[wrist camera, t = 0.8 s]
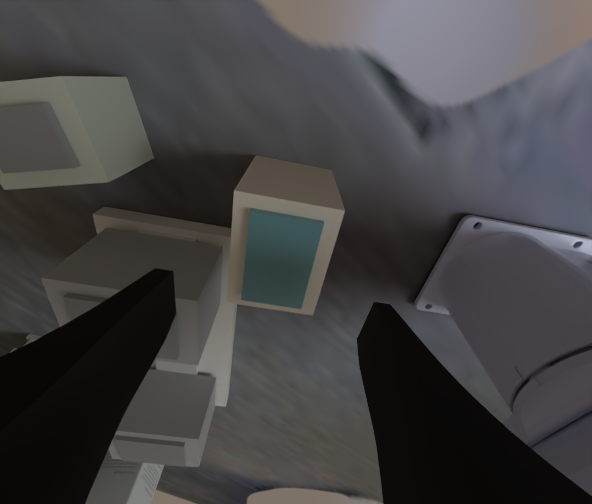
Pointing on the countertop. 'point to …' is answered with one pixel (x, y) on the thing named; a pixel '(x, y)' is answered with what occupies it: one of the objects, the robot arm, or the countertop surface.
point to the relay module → (282, 235)
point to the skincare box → (124, 482)
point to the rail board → (182, 335)
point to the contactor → (69, 131)
